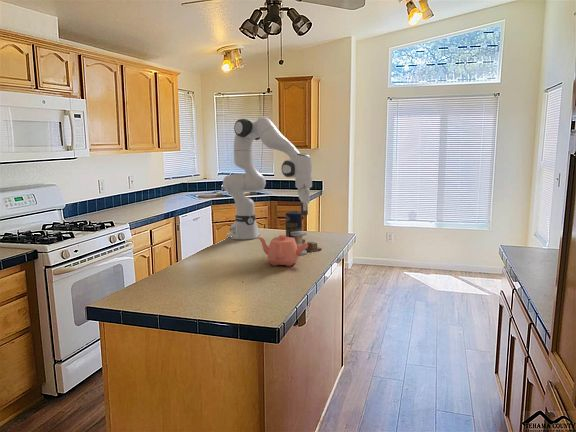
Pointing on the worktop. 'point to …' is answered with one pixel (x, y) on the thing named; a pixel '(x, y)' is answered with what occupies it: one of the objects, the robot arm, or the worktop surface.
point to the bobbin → (299, 239)
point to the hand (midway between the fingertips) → (304, 209)
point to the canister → (293, 222)
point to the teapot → (282, 250)
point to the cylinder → (303, 210)
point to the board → (311, 246)
